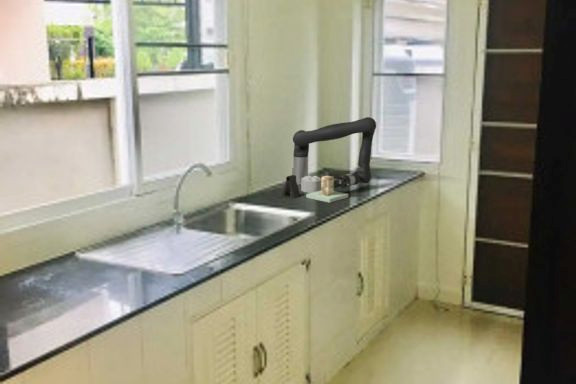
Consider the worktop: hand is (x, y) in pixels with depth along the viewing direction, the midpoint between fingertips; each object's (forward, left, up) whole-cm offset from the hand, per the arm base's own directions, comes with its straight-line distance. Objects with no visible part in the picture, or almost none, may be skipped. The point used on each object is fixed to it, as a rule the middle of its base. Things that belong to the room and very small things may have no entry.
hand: (328, 185), depth 343 cm
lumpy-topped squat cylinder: (-18, +6, -7) cm, 20 cm away
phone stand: (-17, -13, -7) cm, 23 cm away
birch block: (0, -1, -7) cm, 7 cm away
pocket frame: (0, -1, -7) cm, 7 cm away
